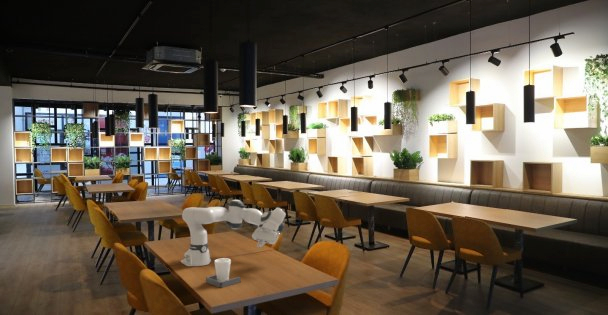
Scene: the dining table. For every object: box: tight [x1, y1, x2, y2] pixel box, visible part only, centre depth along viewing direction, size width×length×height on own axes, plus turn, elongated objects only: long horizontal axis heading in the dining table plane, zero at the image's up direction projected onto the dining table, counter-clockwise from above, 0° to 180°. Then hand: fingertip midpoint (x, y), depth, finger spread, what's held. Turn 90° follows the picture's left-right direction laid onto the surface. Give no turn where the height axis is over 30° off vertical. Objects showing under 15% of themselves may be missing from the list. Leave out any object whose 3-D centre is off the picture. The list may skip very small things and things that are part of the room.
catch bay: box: [205, 274, 241, 289], centre depth 247 cm, size 15×14×3 cm
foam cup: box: [214, 257, 232, 282], centre depth 248 cm, size 10×9×13 cm
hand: (258, 246), depth 266 cm, fingers closed
